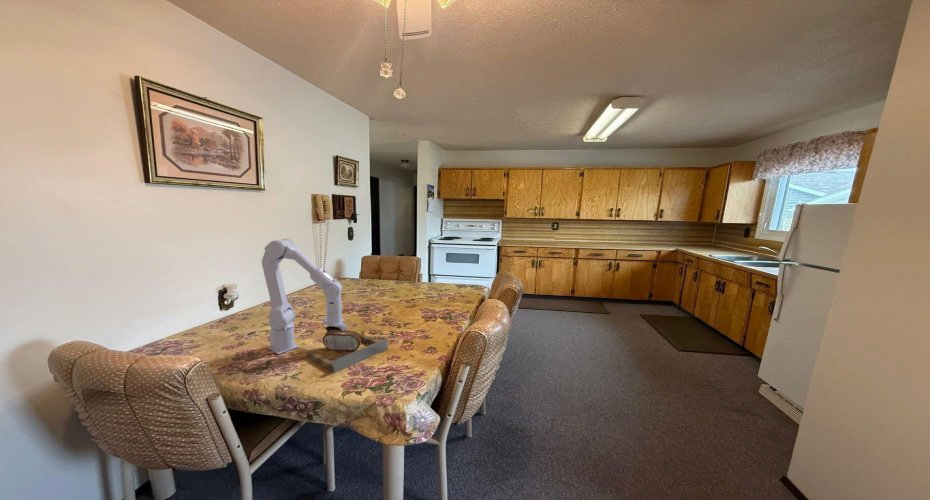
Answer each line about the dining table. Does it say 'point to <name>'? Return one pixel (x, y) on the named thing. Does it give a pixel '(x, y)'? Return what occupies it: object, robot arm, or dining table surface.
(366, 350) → the grey u-shaped bracket
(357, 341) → the tin
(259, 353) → the dining table surface
